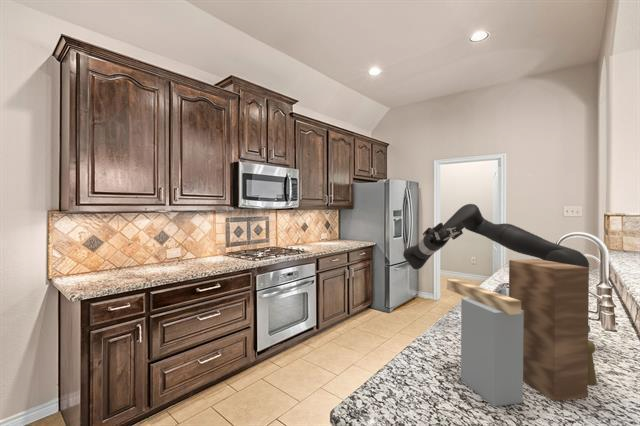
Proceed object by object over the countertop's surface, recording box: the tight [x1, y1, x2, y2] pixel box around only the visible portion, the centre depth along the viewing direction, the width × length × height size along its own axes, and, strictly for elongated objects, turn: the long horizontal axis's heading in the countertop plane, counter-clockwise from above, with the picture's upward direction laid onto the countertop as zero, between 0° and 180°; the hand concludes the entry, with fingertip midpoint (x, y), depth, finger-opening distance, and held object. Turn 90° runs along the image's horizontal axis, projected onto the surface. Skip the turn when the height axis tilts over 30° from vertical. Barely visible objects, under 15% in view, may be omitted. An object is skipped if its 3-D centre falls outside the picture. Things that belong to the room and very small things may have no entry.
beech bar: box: [446, 278, 521, 315], centre depth 83 cm, size 24×3×3 cm, turn 12°
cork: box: [588, 339, 598, 386], centre depth 85 cm, size 6×6×11 cm
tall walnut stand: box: [508, 258, 590, 402], centre depth 83 cm, size 14×10×32 cm
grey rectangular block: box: [460, 297, 524, 408], centre depth 79 cm, size 12×8×22 cm, turn 12°
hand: (452, 224), depth 116 cm, fingers open, 8 cm apart
